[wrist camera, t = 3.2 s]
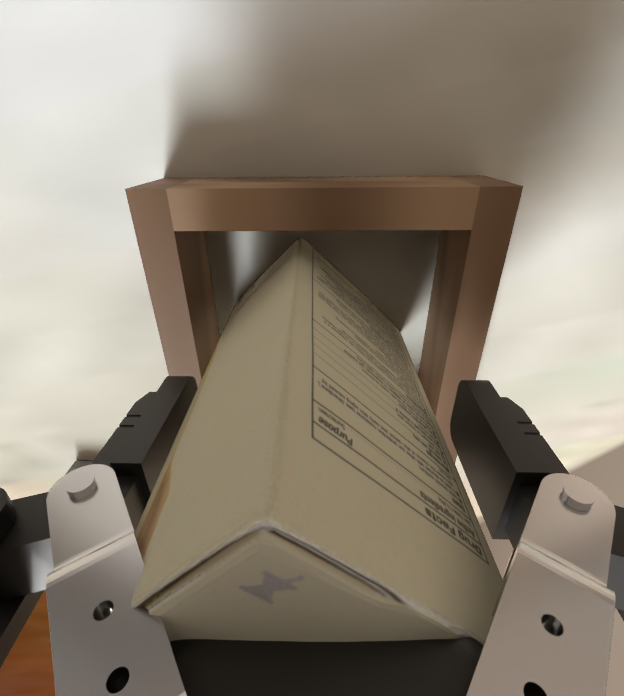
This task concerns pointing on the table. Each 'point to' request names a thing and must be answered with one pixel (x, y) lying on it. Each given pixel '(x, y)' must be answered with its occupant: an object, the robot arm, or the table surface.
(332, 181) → the pocket holder
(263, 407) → the skincare box
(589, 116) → the table surface
